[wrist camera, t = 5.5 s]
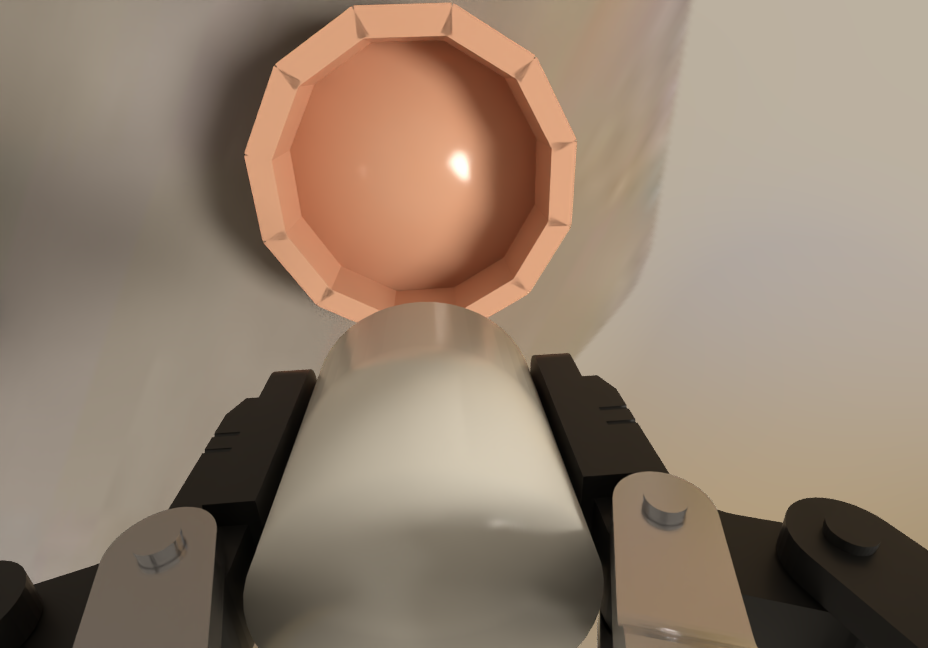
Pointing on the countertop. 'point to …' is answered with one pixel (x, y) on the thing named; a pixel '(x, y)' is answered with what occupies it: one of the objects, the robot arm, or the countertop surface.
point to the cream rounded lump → (424, 500)
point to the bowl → (411, 162)
